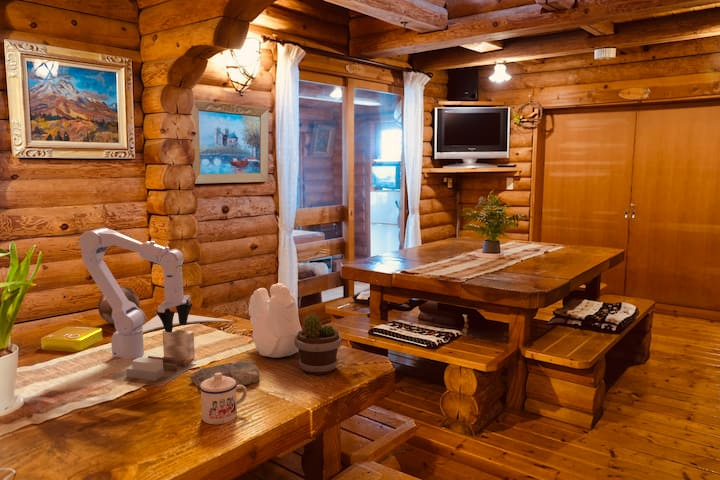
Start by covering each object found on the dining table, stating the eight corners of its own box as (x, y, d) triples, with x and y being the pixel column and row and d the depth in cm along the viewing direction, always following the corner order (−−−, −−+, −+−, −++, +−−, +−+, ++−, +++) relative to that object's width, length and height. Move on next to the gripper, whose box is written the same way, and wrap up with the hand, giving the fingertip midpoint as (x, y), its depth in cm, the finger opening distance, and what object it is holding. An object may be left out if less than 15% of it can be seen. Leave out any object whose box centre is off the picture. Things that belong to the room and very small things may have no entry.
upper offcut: (132, 369, 167) (131, 361, 167) (140, 364, 171) (140, 356, 170) (155, 372, 165) (154, 363, 165) (163, 367, 168) (162, 359, 168)
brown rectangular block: (163, 357, 185) (162, 331, 184) (168, 355, 187) (167, 328, 186) (190, 361, 182) (189, 333, 181) (194, 358, 184) (193, 331, 183)
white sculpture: (312, 358, 187) (311, 284, 183) (267, 367, 179) (265, 290, 175) (282, 337, 208) (280, 270, 204) (240, 344, 200) (238, 275, 196)
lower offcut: (126, 376, 168) (126, 368, 168) (135, 371, 172) (135, 363, 172) (155, 380, 165) (154, 372, 165) (163, 375, 169) (163, 367, 169)
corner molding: (232, 324, 229) (162, 314, 233) (232, 320, 228) (162, 311, 232) (200, 356, 200) (121, 344, 204) (200, 351, 200) (121, 340, 204)
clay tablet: (193, 397, 157) (264, 384, 165) (192, 380, 157) (263, 368, 165) (187, 379, 170) (253, 369, 178) (186, 364, 170) (252, 354, 177)
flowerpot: (314, 357, 187) (313, 298, 184) (352, 367, 178) (351, 305, 175) (284, 371, 175) (282, 308, 172) (322, 382, 167) (322, 316, 164)
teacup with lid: (208, 429, 138) (206, 383, 136) (196, 414, 146) (194, 371, 144) (254, 416, 145) (252, 373, 143) (240, 403, 152) (239, 362, 151)
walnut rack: (108, 382, 167) (107, 372, 166) (148, 361, 184) (148, 352, 183) (160, 389, 161) (160, 379, 161) (196, 367, 178) (196, 358, 178)
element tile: (105, 339, 207) (104, 326, 206) (78, 353, 192) (77, 339, 192) (68, 337, 209) (67, 324, 209) (39, 350, 195) (37, 337, 194)
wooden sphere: (91, 329, 217) (88, 291, 215) (112, 318, 232) (110, 282, 230) (128, 330, 216) (126, 292, 213) (147, 319, 230) (145, 283, 228)
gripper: (170, 293, 174) (172, 336, 176) (197, 283, 188) (199, 323, 190) (151, 291, 176) (153, 334, 178) (179, 282, 190) (181, 321, 192)
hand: (176, 328), depth 184 cm, fingers open, 7 cm apart
